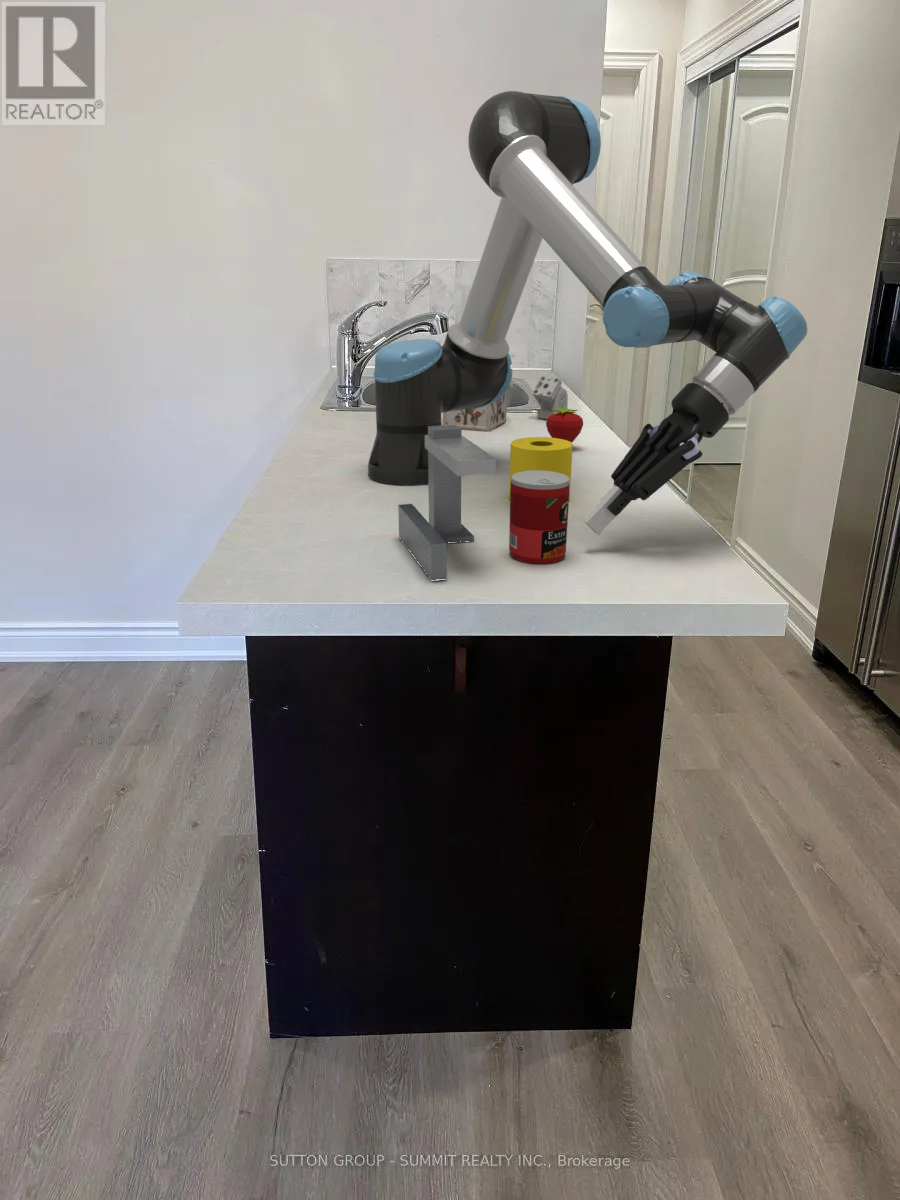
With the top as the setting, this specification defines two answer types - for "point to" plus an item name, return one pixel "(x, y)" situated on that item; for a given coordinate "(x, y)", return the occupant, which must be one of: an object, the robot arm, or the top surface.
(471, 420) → the white patterned box
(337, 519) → the top surface
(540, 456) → the yellow toilet paper roll
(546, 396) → the mechanical component
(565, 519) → the canned food
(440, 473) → the bracket
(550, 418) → the strawberry
